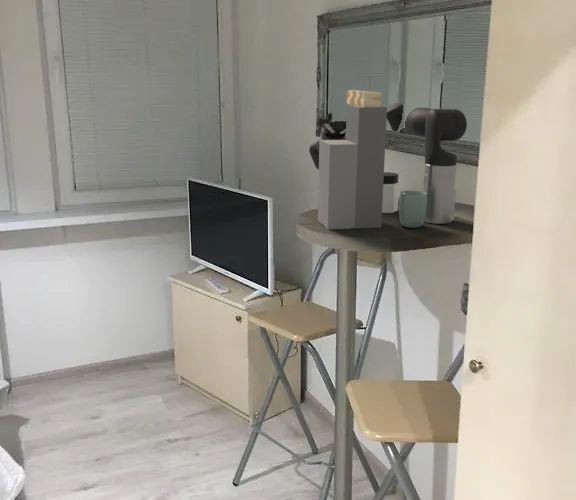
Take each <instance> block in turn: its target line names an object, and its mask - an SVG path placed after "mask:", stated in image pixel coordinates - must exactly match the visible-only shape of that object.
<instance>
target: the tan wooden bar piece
mask: <svg viewBox="0 0 576 500" xmlns="http://www.w3.org/2000/svg"><path fill="white" fill-rule="evenodd" d="M346 104H347V105H357V106H359V107H382V106H381V105H382V92H380V91H367V90H357V89H348V90H347V89H346Z"/></svg>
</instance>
